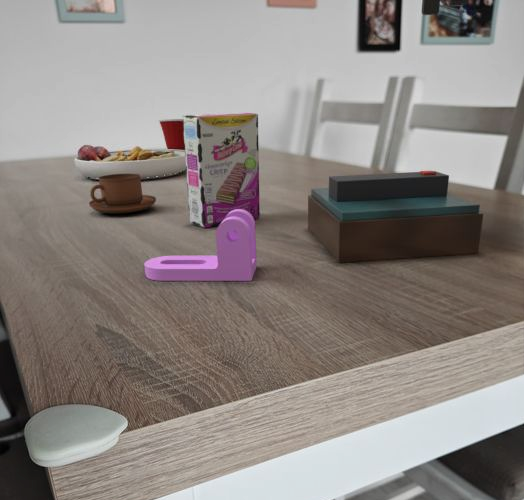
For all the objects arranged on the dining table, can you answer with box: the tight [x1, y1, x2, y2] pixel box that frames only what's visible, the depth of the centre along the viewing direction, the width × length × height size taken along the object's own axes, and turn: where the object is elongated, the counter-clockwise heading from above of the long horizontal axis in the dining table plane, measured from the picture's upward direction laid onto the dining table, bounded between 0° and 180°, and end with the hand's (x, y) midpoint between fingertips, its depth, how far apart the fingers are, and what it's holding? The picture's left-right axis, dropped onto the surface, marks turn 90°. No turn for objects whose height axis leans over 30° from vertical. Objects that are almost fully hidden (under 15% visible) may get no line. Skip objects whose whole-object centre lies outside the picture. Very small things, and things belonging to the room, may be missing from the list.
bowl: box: [74, 144, 186, 181], centre depth 146 cm, size 30×30×8 cm
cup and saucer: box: [88, 174, 157, 215], centre depth 101 cm, size 12×12×6 cm
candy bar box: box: [182, 112, 261, 229], centre depth 88 cm, size 11×5×16 cm, turn 126°
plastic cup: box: [157, 118, 185, 150], centre depth 179 cm, size 11×11×12 cm
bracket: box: [143, 209, 258, 282], centre depth 64 cm, size 13×6×7 cm, turn 84°
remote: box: [328, 170, 450, 202], centre depth 74 cm, size 5×15×3 cm, turn 97°
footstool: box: [307, 187, 484, 264], centre depth 76 cm, size 18×19×6 cm
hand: (443, 10), depth 71 cm, fingers open, 8 cm apart
